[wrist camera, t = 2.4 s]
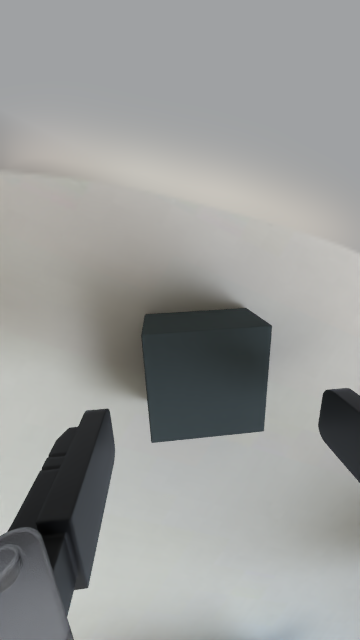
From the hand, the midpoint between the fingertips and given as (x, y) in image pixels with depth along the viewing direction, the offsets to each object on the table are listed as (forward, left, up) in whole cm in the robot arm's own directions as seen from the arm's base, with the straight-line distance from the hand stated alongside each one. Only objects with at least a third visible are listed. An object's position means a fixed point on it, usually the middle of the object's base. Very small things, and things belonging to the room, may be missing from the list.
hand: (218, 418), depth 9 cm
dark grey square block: (0, 0, -5) cm, 5 cm away
